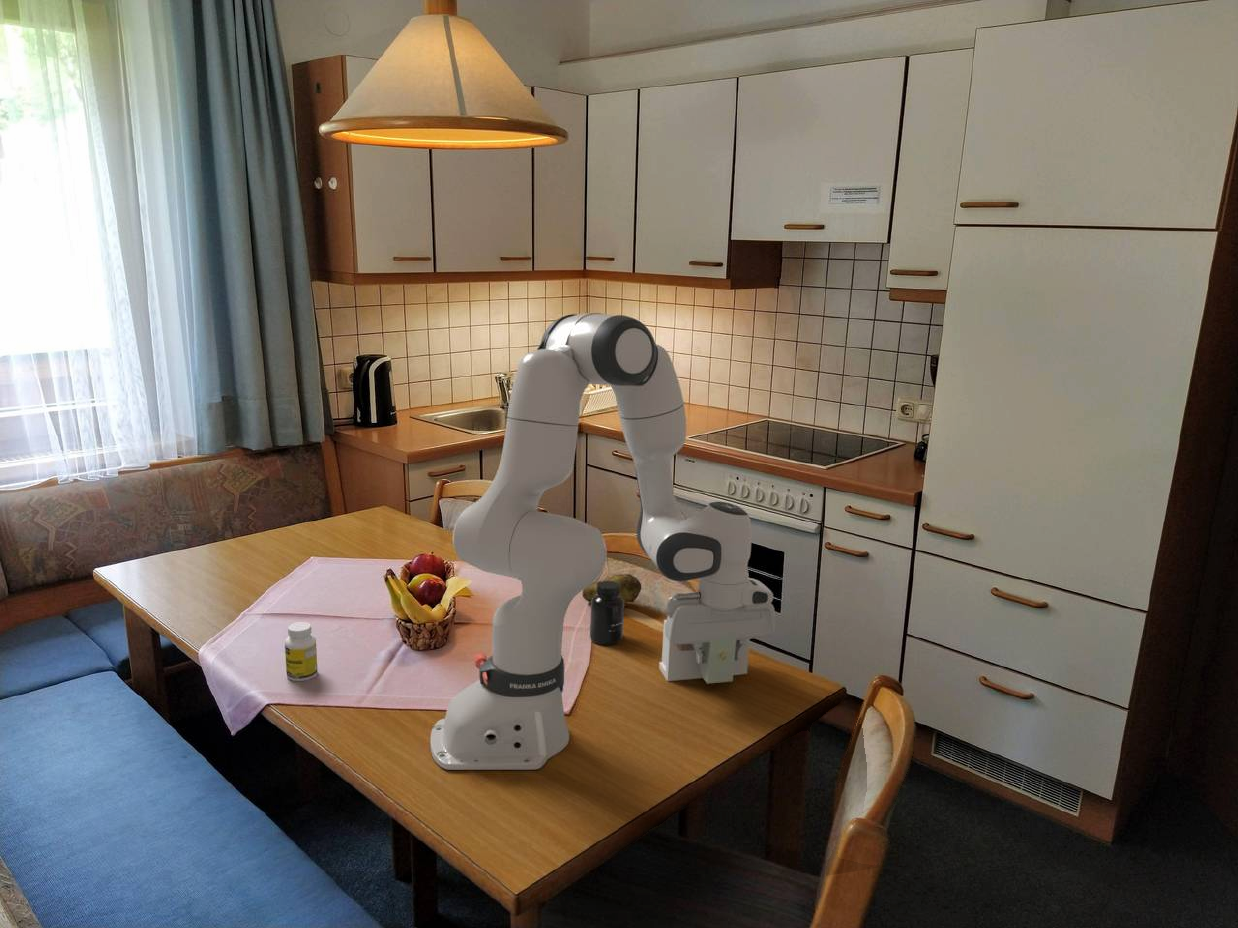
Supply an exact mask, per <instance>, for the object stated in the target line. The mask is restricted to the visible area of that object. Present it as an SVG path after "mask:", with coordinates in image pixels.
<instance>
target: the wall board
mask: <svg viewBox="0 0 1238 928" xmlns="http://www.w3.org/2000/svg"><path fill="white" fill-rule="evenodd" d="M666 621H667V619H663V631H662V632H663V633H662V650H661V652H662V653H661V661H658V664H659V665H658V668H659V670H660V672H661V673H662V675H663V676H664V678H665V680H666V681H667V682H673V681H682V680H683V681H684V680H685V681H686V680H695V679H704V678H703V677H702V675H701V674H700V669H699V664H698V662H697V661H696V651H695V649H694V647H693V646H692V644H681V645H673V644H672V643H671V642H670V641H669V640H668V638H667V637H666V635H665V628H666ZM736 643H737V640H736ZM699 649H700V651H701V650H702V647H701V648H700V647H699ZM749 650H750V639H747V644H746V646H745V647H744V648H743V650H742V651H741V652H740V660H737V661H735V662H734V674H733V676H737V675H747V674H748V665H749V664H748V663H749V653H750V652H749Z"/></svg>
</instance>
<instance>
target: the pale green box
mask: <svg viewBox="0 0 1238 928" xmlns="http://www.w3.org/2000/svg"><path fill="white" fill-rule="evenodd" d="M736 637H737V636H730V637H717V638H710V642H704V643H702V650H701V651H704V652H705V654H707V659H706V660H707V663H704V664H699V669H700V674H701V675H702V677H703V678H702V679H703V680H704V681H705V682H706V684H715V683H729V682H733V681H734V675H733V674H734V662H735V649H736Z"/></svg>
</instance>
